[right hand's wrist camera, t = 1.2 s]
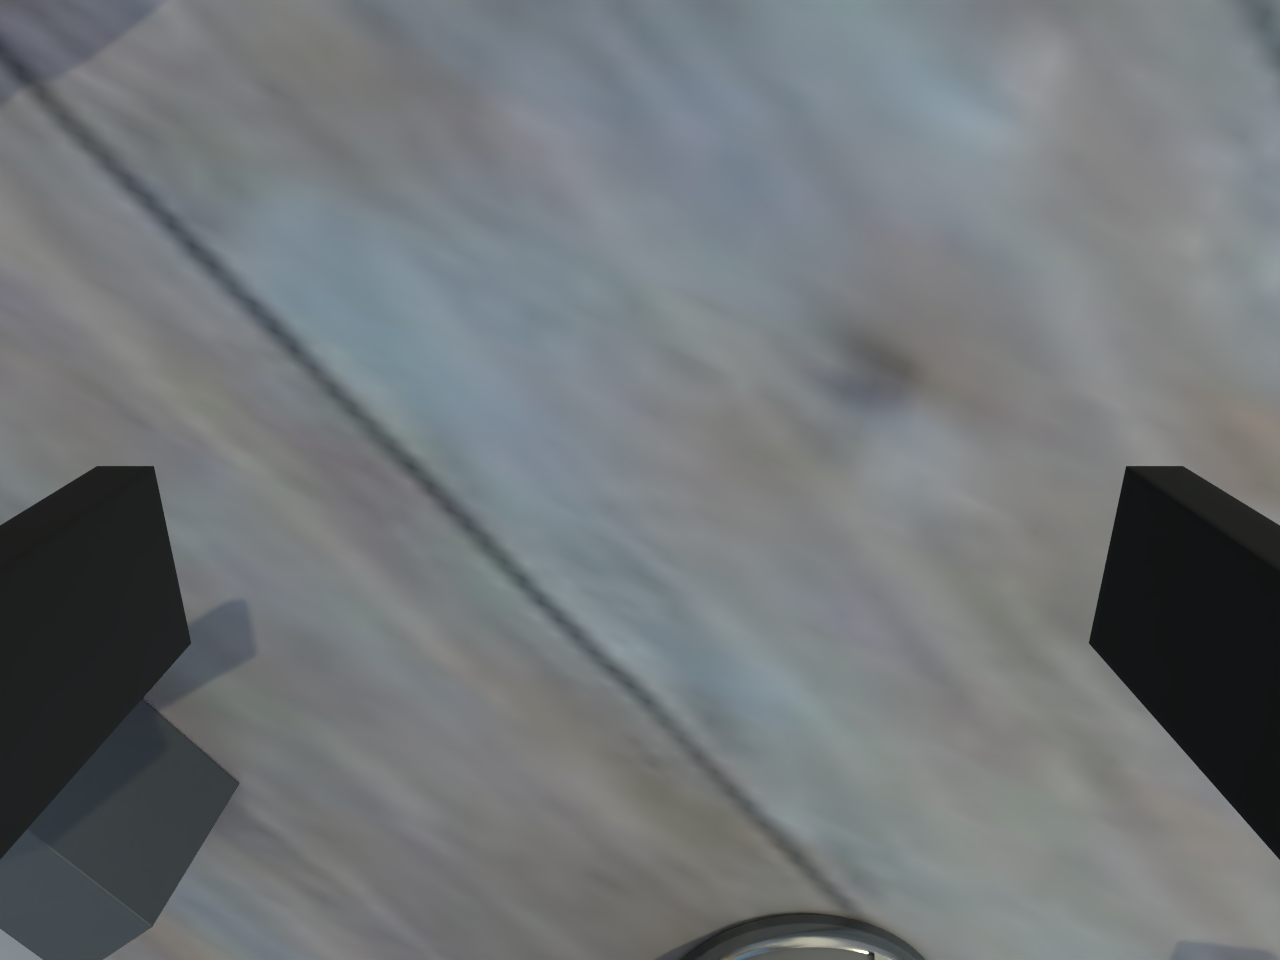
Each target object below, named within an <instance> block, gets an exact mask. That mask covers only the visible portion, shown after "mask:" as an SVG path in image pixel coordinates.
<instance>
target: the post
mask: <svg viewBox="0 0 1280 960" xmlns="http://www.w3.org/2000/svg"><path fill="white" fill-rule="evenodd" d="M238 785H239V782H237V781H236V780H235V779H234V778H233V777H232V776H231V775H229V774H228V773H227V772H226V771H225V770H224V769H223V768H221V767H220V766H219V765H218V764H217V763H216V762H214V761H213V760H212V759H211V758H210V757H209V756H208V755H206V754H205V753H204V752H203V751H202V750H201V749H199V748H198V747H197V746H196V745H195V744H194V743H193V742H191V741H190V740H189V739H188V738H187V737H186V736H185V735H183V734H182V733H181V732H180V731H179V730H178V729H176V728H175V727H174V726H173V725H172V724H171V723H170V722H168V721H167V720H166V719H165V718H164V717H163V716H162V715H160V714H159V713H158V712H157V711H156V710H155V709H153V708H152V707H151V706H150V705H149V704H148V703H147V702H145V701H144V700H143V699H141V700H140V702H139V703H138V704H137V705H136V706H135V707H134V708H133V710H132V711H131V712H130V713H129V714H128V715H127V716H126V718H125V719H124V720H123V721H122V722H121V723H120V724H119V725H118V727H117V728H116V729H115V730H114V731H113V732H112V733H111V735H110V736H109V737H108V738H107V739H106V740H105V741H104V742H103V744H102V745H101V746H100V747H99V748H98V749H97V750H96V752H95V753H94V754H93V755H92V756H91V757H90V758H89V760H88V761H87V762H86V763H85V764H84V765H83V766H82V767H81V769H80V770H79V771H78V772H77V773H76V774H75V775H74V777H73V778H72V779H71V780H70V781H69V782H68V783H67V784H66V786H65V787H64V788H63V789H62V790H61V791H60V792H59V794H58V795H57V796H56V797H55V798H54V799H53V800H52V802H51V803H50V804H49V805H48V806H47V807H46V808H45V809H44V811H43V812H42V813H41V814H40V815H39V816H38V817H37V819H36V820H35V821H34V822H33V823H32V824H31V825H30V826H29V828H28V829H27V830H26V831H25V832H24V833H23V834H22V836H21V837H20V838H19V839H18V840H17V841H16V842H15V844H14V845H13V846H12V847H11V848H10V849H9V850H8V851H7V853H6V854H5V855H4V856H3V857H2V858H1V859H0V929H2V930H3V931H5V932H6V933H7V934H9V935H10V936H11V937H13V938H14V939H15V940H17V941H18V942H20V943H21V944H22V945H24V946H25V947H26V948H28V949H29V950H31V951H32V952H33V953H35V954H36V955H38V956H39V957H40V958H42V959H43V960H103V959H104V958H106V957H107V956H109V955H110V954H112V953H113V952H115V951H116V950H118V949H119V948H121V947H122V946H124V945H125V944H127V943H128V942H130V941H131V940H133V939H134V938H136V937H138V936H139V935H141V934H142V933H144V932H145V931H147V930H148V929H150V928H151V927H152V926H153V925H154V923H155V921H156V920H157V918H158V916H159V915H160V913H161V911H162V910H163V908H164V906H165V905H166V903H167V902H168V900H169V898H170V897H171V895H172V893H173V892H174V890H175V888H176V887H177V885H178V883H179V882H180V880H181V879H182V877H183V875H184V874H185V872H186V870H187V869H188V867H189V865H190V864H191V862H192V860H193V859H194V857H195V856H196V854H197V852H198V851H199V849H200V847H201V846H202V844H203V842H204V841H205V839H206V837H207V836H208V834H209V832H210V831H211V829H212V828H213V826H214V824H215V823H216V821H217V819H218V818H219V816H220V814H221V813H222V811H223V809H224V808H225V806H226V805H227V803H228V801H229V800H230V798H231V796H232V795H233V793H234V791H235V790H236V788H237V786H238Z"/></svg>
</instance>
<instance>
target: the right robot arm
mask: <svg viewBox="0 0 1280 960" xmlns="http://www.w3.org/2000/svg"><path fill="white" fill-rule="evenodd" d="M190 644H191V641H190V636H189V631H188V626H187V622H186V617H185V612H184V607H183V603H182V598H181V593H180V588H179V584H178V579H177V574H176V569H175V565H174V560H173V555H172V550H171V546H170V541H169V536H168V531H167V527H166V522H165V517H164V512H163V508H162V503H161V498H160V493H159V489H158V484H157V479H156V474H155V470H154V466H97V467H95V468H93V469H92V470H90V471H89V472H87V473H85V474H84V475H82V476H80V477H79V478H77V479H75V480H74V481H72V482H71V483H69V484H67V485H66V486H64V487H62V488H61V489H59V490H58V491H56V492H54V493H53V494H51V495H49V496H48V497H46V498H44V499H43V500H41V501H40V502H38V503H36V504H35V505H33V506H31V507H30V508H28V509H27V510H25V511H23V512H22V513H20V514H18V515H17V516H15V517H13V518H12V519H10V520H9V521H7V522H5V523H4V524H2V525H0V859H1V858H2V857H3V856H4V855H5V854H6V853H7V851H8V850H9V849H10V848H11V847H12V846H13V845H14V844H15V842H16V841H17V840H18V839H19V838H20V837H21V836H22V834H23V833H24V832H25V831H26V830H27V829H28V828H29V826H30V825H31V824H32V823H33V822H34V821H35V820H36V819H37V817H38V816H39V815H40V814H41V813H42V812H43V811H44V809H45V808H46V807H47V806H48V805H49V804H50V803H51V802H52V800H53V799H54V798H55V797H56V796H57V795H58V794H59V792H60V791H61V790H62V789H63V788H64V787H65V786H66V784H67V783H68V782H69V781H70V780H71V779H72V778H73V777H74V775H75V774H76V773H77V772H78V771H79V770H80V769H81V767H82V766H83V765H84V764H85V763H86V762H87V761H88V760H89V758H90V757H91V756H92V755H93V754H94V753H95V752H96V750H97V749H98V748H99V747H100V746H101V745H102V744H103V742H104V741H105V740H106V739H107V738H108V737H109V736H110V735H111V733H112V732H113V731H114V730H115V729H116V728H117V727H118V725H119V724H120V723H121V722H122V721H123V720H124V719H125V718H126V716H127V715H128V714H129V713H130V712H131V711H132V710H133V708H134V707H135V706H136V705H137V704H138V703H139V702H140V700H141V699H142V698H143V697H144V696H145V695H146V694H147V693H148V691H149V690H150V689H151V688H152V687H153V686H154V685H155V683H156V682H157V681H158V680H159V679H160V678H161V677H162V676H163V674H164V673H165V672H166V671H167V670H168V669H169V668H170V666H171V665H172V664H173V663H174V662H175V661H176V660H177V658H178V657H179V656H180V655H181V654H182V653H183V652H184V651H185V649H186V648H187V647H188V646H189V645H190ZM1089 644H1090V645H1091V646H1092V647H1093V648H1094V649H1095V651H1096V652H1097V653H1098V654H1099V655H1100V656H1101V657H1102V658H1103V660H1104V661H1105V662H1106V663H1107V664H1108V665H1109V666H1110V668H1111V669H1112V670H1113V671H1114V672H1115V673H1116V674H1117V676H1118V677H1119V678H1120V679H1121V680H1122V681H1123V682H1124V683H1125V685H1126V686H1127V687H1128V688H1129V689H1130V690H1131V691H1132V693H1133V694H1134V695H1135V696H1136V697H1137V698H1138V699H1139V700H1140V702H1141V703H1142V704H1143V705H1144V706H1145V707H1146V708H1147V710H1148V711H1149V712H1150V713H1151V714H1152V715H1153V716H1154V718H1155V719H1156V720H1157V721H1158V722H1159V723H1160V724H1161V725H1162V727H1163V728H1164V729H1165V730H1166V731H1167V732H1168V733H1169V735H1170V736H1171V737H1172V738H1173V739H1174V740H1175V741H1176V742H1177V744H1178V745H1179V746H1180V747H1181V748H1182V749H1183V750H1184V752H1185V753H1186V754H1187V755H1188V756H1189V757H1190V758H1191V760H1192V761H1193V762H1194V763H1195V764H1196V765H1197V766H1198V767H1199V769H1200V770H1201V771H1202V772H1203V773H1204V774H1205V775H1206V777H1207V778H1208V779H1209V780H1210V781H1211V782H1212V783H1213V784H1214V786H1215V787H1216V788H1217V789H1218V790H1219V791H1220V792H1221V794H1222V795H1223V796H1224V797H1225V798H1226V799H1227V800H1228V802H1229V803H1230V804H1231V805H1232V806H1233V807H1234V808H1235V809H1236V811H1237V812H1238V813H1239V814H1240V815H1241V816H1242V817H1243V819H1244V820H1245V821H1246V822H1247V823H1248V824H1249V825H1250V826H1251V828H1252V829H1253V830H1254V831H1255V832H1256V833H1257V834H1258V836H1259V837H1260V838H1261V839H1262V840H1263V841H1264V842H1265V844H1266V845H1267V846H1268V847H1269V848H1270V849H1271V850H1272V851H1273V853H1274V854H1275V855H1276V856H1277V857H1278V858H1279V859H1280V525H1278V524H1276V523H1275V522H1273V521H1271V520H1270V519H1268V518H1267V517H1265V516H1263V515H1262V514H1260V513H1258V512H1257V511H1255V510H1253V509H1252V508H1250V507H1249V506H1247V505H1245V504H1244V503H1242V502H1240V501H1239V500H1237V499H1236V498H1234V497H1232V496H1231V495H1229V494H1227V493H1226V492H1224V491H1222V490H1221V489H1219V488H1218V487H1216V486H1214V485H1213V484H1211V483H1209V482H1208V481H1206V480H1205V479H1203V478H1201V477H1200V476H1198V475H1196V474H1195V473H1193V472H1191V471H1190V470H1188V469H1187V468H1185V467H1183V466H1126V470H1125V474H1124V479H1123V484H1122V489H1121V493H1120V498H1119V503H1118V508H1117V512H1116V517H1115V522H1114V527H1113V531H1112V536H1111V541H1110V546H1109V550H1108V555H1107V560H1106V565H1105V569H1104V574H1103V579H1102V584H1101V588H1100V593H1099V598H1098V603H1097V607H1096V612H1095V617H1094V622H1093V626H1092V631H1091V636H1090V641H1089ZM683 960H925V959H924V958H923V957H922V956H921V955H920V954H919V953H918V952H917V951H916V950H915V949H914V948H913V947H911V946H910V945H909V944H907V943H906V942H905V941H903V940H901V939H900V938H898V937H896V936H895V935H893V934H891V933H889V932H887V931H885V930H883V929H881V928H878V927H875V926H873V925H870V924H867V923H864V922H860V921H857V920H853V919H848V918H843V917H837V916H829V915H813V914H804V915H787V916H778V917H772V918H767V919H762V920H758V921H754V922H750V923H747V924H744V925H741V926H738V927H735V928H733V929H730V930H728V931H726V932H723V933H721V934H719V935H717V936H715V937H713V938H711V939H710V940H708V941H706V942H705V943H703V944H702V945H700V946H699V947H697V948H696V949H694V950H693V951H692V952H691V953H689V954H688V955H687V956H686V957H685V958H684V959H683Z"/></svg>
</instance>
